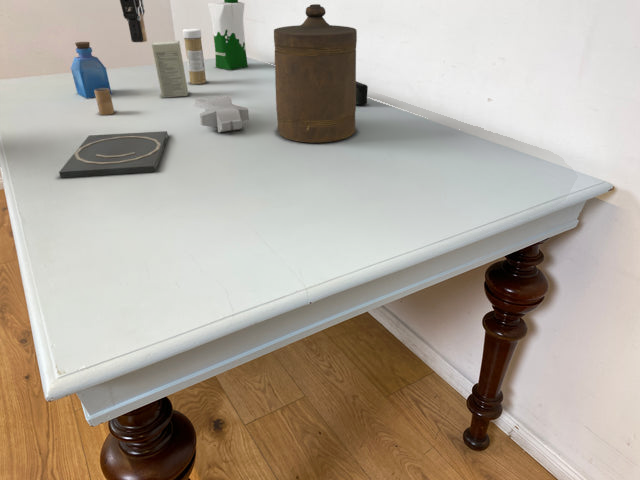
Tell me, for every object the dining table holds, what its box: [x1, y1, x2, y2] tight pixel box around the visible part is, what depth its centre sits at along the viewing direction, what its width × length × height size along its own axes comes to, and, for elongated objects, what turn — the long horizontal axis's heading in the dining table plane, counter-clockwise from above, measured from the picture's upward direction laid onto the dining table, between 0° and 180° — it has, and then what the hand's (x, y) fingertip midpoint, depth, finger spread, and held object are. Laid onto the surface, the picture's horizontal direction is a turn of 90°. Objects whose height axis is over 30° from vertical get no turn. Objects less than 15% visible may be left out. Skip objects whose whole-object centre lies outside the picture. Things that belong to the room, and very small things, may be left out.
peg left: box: [94, 88, 115, 116], centre depth 103 cm, size 3×3×5 cm
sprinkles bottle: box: [182, 28, 207, 85], centre depth 127 cm, size 5×5×13 cm
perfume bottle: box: [70, 41, 113, 99], centre depth 117 cm, size 6×6×12 cm
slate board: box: [58, 130, 169, 179], centre depth 82 cm, size 14×18×1 cm
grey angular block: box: [193, 94, 250, 133], centre depth 96 cm, size 10×5×15 cm
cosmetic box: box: [151, 40, 189, 98], centre depth 115 cm, size 6×4×12 cm
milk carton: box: [207, 0, 249, 71], centre depth 144 cm, size 9×9×20 cm
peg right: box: [128, 13, 148, 43], centre depth 96 cm, size 3×3×5 cm
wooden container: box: [273, 3, 358, 144], centre depth 87 cm, size 15×15×22 cm
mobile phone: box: [356, 80, 369, 106], centre depth 112 cm, size 5×3×15 cm
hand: (139, 40), depth 97 cm, fingers closed on peg right, 3 cm apart
